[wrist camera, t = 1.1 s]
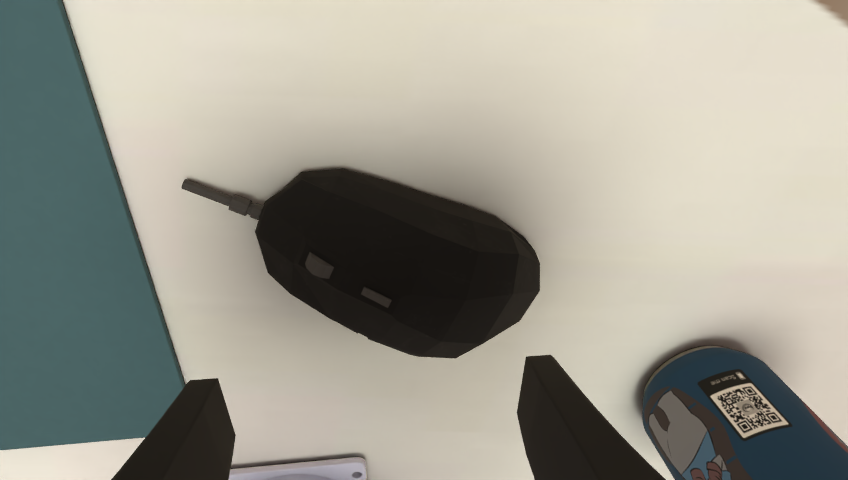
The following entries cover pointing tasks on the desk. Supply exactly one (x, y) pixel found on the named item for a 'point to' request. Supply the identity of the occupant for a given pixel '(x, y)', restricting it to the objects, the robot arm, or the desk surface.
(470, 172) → the desk surface
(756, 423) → the soda can
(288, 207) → the gaming mouse
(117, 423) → the mouse pad
